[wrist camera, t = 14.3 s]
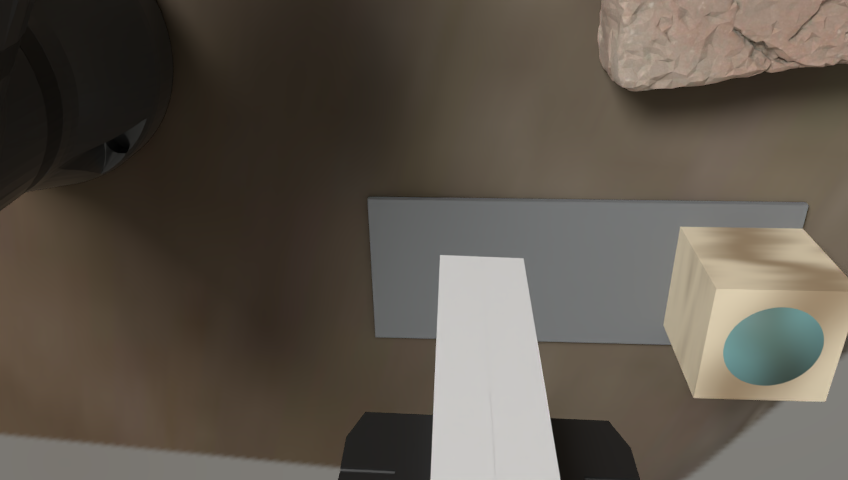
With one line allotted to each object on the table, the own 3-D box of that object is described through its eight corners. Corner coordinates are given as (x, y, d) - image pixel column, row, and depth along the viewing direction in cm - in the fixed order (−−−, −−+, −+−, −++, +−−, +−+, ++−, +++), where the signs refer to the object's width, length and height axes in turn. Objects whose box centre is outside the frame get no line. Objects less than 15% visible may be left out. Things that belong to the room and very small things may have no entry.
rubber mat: (376, 333, 47) (375, 337, 47) (368, 196, 42) (367, 199, 42) (769, 343, 45) (771, 347, 45) (805, 202, 41) (808, 205, 40)
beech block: (825, 402, 38) (776, 327, 44) (860, 292, 35) (802, 228, 41) (693, 398, 39) (663, 325, 45) (716, 289, 35) (680, 226, 42)
